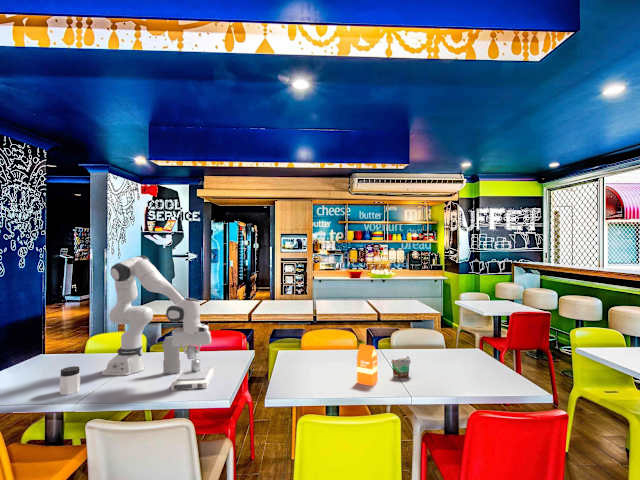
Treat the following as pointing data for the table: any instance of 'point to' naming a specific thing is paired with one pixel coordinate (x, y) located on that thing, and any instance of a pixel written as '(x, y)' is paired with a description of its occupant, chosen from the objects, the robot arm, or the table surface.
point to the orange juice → (366, 365)
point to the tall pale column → (171, 357)
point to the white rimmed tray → (193, 379)
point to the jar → (69, 380)
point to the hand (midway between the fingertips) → (191, 353)
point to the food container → (401, 367)
